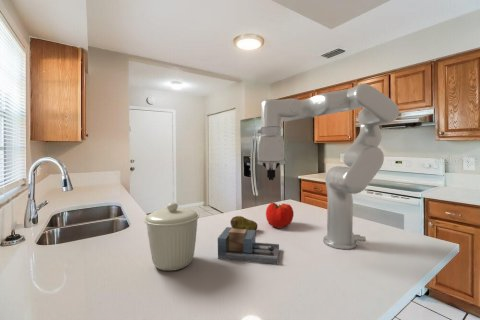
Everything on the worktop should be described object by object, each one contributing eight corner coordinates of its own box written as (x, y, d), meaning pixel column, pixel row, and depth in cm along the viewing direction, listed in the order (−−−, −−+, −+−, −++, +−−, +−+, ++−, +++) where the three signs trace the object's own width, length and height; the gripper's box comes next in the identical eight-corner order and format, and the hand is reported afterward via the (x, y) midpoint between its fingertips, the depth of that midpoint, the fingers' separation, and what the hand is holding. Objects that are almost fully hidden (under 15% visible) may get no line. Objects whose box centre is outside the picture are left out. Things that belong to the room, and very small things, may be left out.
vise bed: (279, 249, 90) (279, 230, 90) (277, 264, 78) (277, 242, 78) (227, 245, 94) (226, 227, 94) (217, 258, 83) (217, 238, 82)
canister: (139, 261, 82) (137, 202, 81) (187, 247, 93) (185, 195, 92) (155, 284, 67) (153, 213, 66) (209, 265, 78) (208, 203, 77)
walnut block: (246, 247, 89) (246, 229, 88) (244, 251, 85) (244, 233, 84) (231, 246, 90) (231, 228, 90) (228, 250, 86) (228, 232, 86)
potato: (259, 235, 105) (259, 218, 104) (230, 236, 104) (230, 219, 104) (256, 229, 113) (256, 213, 113) (230, 230, 112) (230, 213, 112)
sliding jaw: (274, 246, 89) (274, 231, 88) (273, 256, 80) (273, 240, 80) (248, 244, 91) (247, 229, 91) (243, 254, 82) (243, 238, 82)
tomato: (263, 229, 114) (263, 205, 113) (270, 220, 127) (270, 199, 126) (290, 232, 108) (290, 207, 108) (295, 223, 121) (295, 201, 121)
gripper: (250, 132, 88) (250, 180, 88) (290, 131, 84) (290, 181, 85) (253, 133, 95) (253, 178, 96) (290, 132, 92) (290, 178, 92)
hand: (271, 179), depth 90 cm, fingers closed
